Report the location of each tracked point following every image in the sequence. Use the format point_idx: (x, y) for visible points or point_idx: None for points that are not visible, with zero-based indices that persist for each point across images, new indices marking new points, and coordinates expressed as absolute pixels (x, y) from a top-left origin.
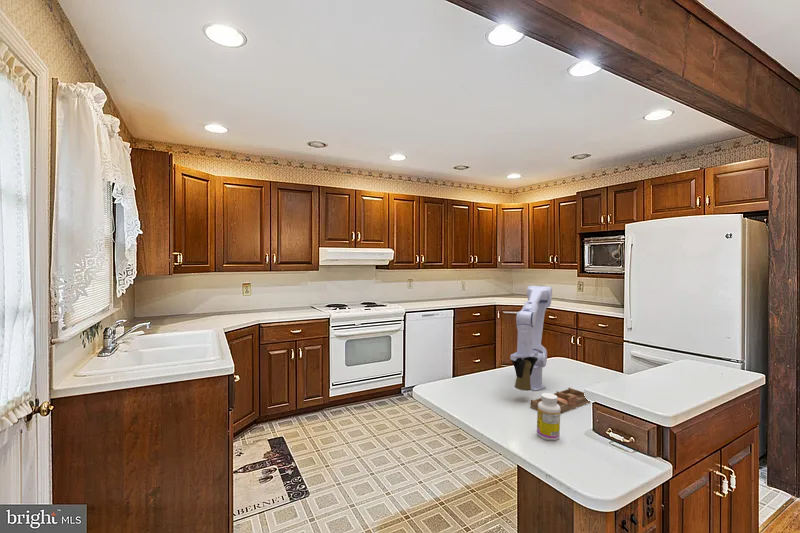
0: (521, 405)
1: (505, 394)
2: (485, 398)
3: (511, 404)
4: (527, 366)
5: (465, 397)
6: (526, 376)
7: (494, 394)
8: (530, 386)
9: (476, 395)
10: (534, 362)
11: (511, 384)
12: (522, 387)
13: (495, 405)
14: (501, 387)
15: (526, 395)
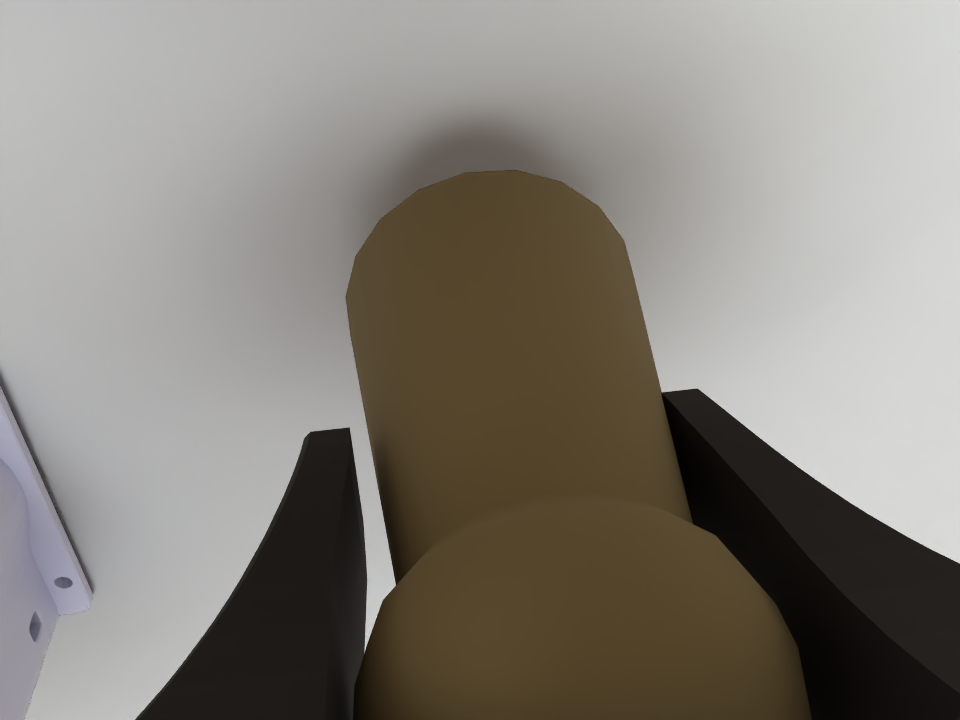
0: (659, 64)
1: None
2: (822, 417)
3: (744, 159)
4: (701, 564)
5: (952, 499)
6: (601, 364)
7: None
8: (414, 230)
9: None
10: (245, 716)
11: (165, 610)
12: (619, 252)
13: (934, 227)
14: (369, 579)
15: (260, 300)
